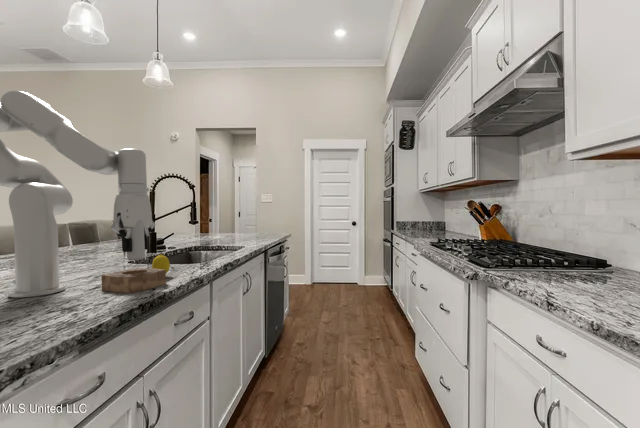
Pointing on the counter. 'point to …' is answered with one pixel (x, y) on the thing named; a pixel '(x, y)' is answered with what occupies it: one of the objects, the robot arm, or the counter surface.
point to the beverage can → (137, 242)
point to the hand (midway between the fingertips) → (135, 249)
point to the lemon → (161, 263)
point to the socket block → (133, 280)
